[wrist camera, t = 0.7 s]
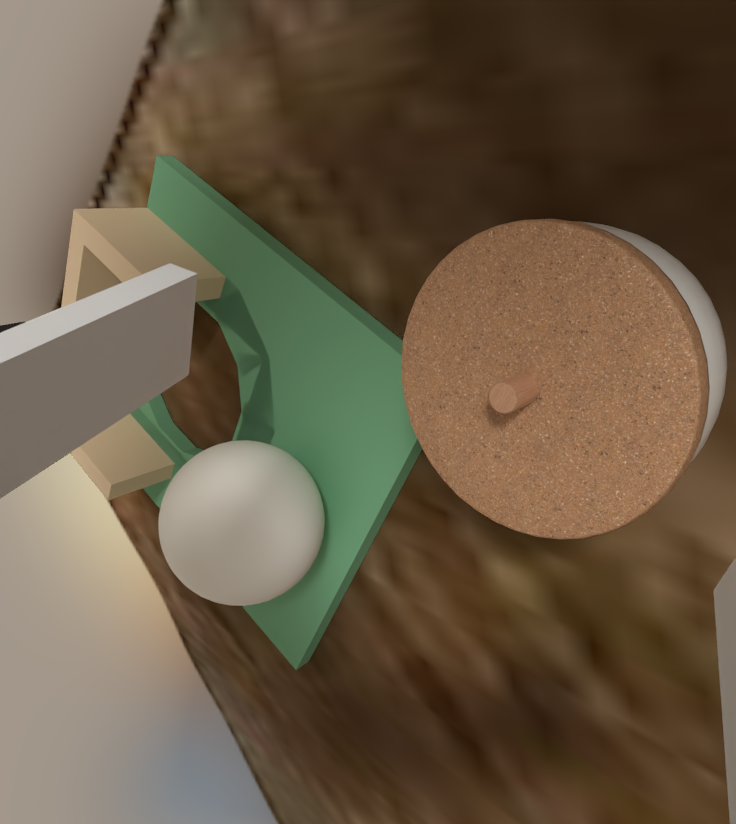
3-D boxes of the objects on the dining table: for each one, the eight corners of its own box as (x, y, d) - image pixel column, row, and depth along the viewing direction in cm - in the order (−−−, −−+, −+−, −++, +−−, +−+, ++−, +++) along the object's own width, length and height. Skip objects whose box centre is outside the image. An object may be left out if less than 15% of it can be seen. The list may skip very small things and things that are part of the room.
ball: (274, 392, 41) (140, 430, 35) (379, 492, 38) (251, 555, 31) (237, 498, 46) (113, 549, 40) (326, 595, 42) (206, 669, 36)
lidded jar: (464, 372, 34) (332, 418, 27) (582, 162, 28) (451, 153, 21) (649, 524, 29) (548, 625, 23) (835, 315, 24) (775, 365, 17)
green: (164, 149, 45) (-271, 125, 29) (457, 384, 34) (21, 543, 19) (109, 429, 58) (-211, 516, 42) (308, 661, 47) (-20, 890, 32)
